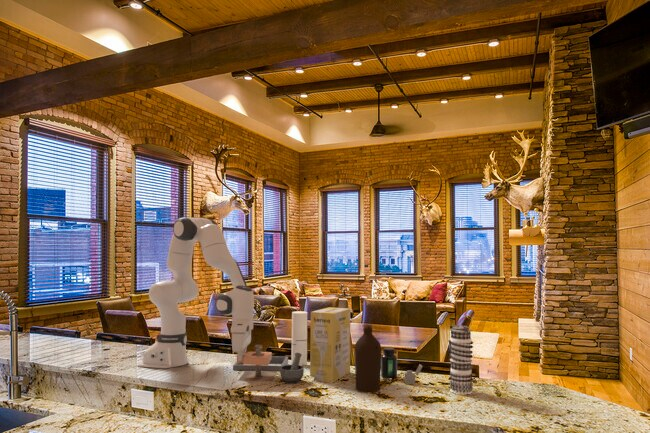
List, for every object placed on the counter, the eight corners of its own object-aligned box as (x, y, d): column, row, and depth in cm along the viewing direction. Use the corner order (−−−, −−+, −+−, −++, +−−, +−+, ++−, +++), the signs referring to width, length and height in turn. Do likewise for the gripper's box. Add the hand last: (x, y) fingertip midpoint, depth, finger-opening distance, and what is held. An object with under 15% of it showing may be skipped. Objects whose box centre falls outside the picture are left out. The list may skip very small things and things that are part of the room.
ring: (234, 364, 193) (235, 356, 193) (240, 358, 203) (240, 351, 203) (267, 365, 192) (268, 357, 192) (271, 359, 202) (271, 352, 202)
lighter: (404, 384, 192) (404, 364, 193) (404, 382, 194) (404, 363, 194) (422, 385, 190) (422, 365, 191) (422, 384, 192) (422, 364, 192)
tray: (232, 373, 206) (233, 365, 206) (241, 363, 224) (241, 355, 224) (283, 374, 205) (283, 366, 206) (287, 364, 223) (288, 356, 223)
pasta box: (328, 369, 214) (329, 307, 216) (350, 372, 209) (350, 308, 211) (310, 379, 198) (310, 311, 199) (332, 382, 193) (333, 313, 195)
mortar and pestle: (295, 390, 183) (295, 358, 184) (274, 386, 187) (275, 355, 188) (309, 382, 193) (309, 352, 194) (290, 379, 197) (290, 350, 198)
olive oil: (384, 387, 188) (384, 323, 189) (376, 394, 178) (376, 327, 179) (359, 383, 192) (359, 321, 193) (350, 391, 182) (350, 325, 184)
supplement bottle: (393, 380, 198) (393, 350, 199) (378, 377, 201) (378, 349, 202) (399, 376, 204) (399, 348, 204) (384, 374, 207) (384, 346, 208)
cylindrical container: (304, 369, 214) (305, 313, 215) (289, 368, 215) (290, 313, 217) (308, 365, 221) (308, 311, 222) (293, 364, 222) (294, 311, 224)
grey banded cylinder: (471, 396, 176) (470, 328, 178) (446, 392, 181) (445, 326, 182) (476, 390, 184) (475, 325, 186) (452, 386, 189) (451, 323, 190)
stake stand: (237, 384, 190) (238, 348, 191) (244, 374, 204) (245, 341, 205) (272, 384, 189) (272, 349, 190) (277, 375, 203) (277, 342, 204)
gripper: (240, 320, 209) (239, 352, 208) (229, 329, 189) (228, 364, 188) (254, 321, 209) (254, 352, 208) (245, 329, 188) (244, 364, 187)
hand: (241, 358), depth 198 cm, fingers closed on ring, 4 cm apart
